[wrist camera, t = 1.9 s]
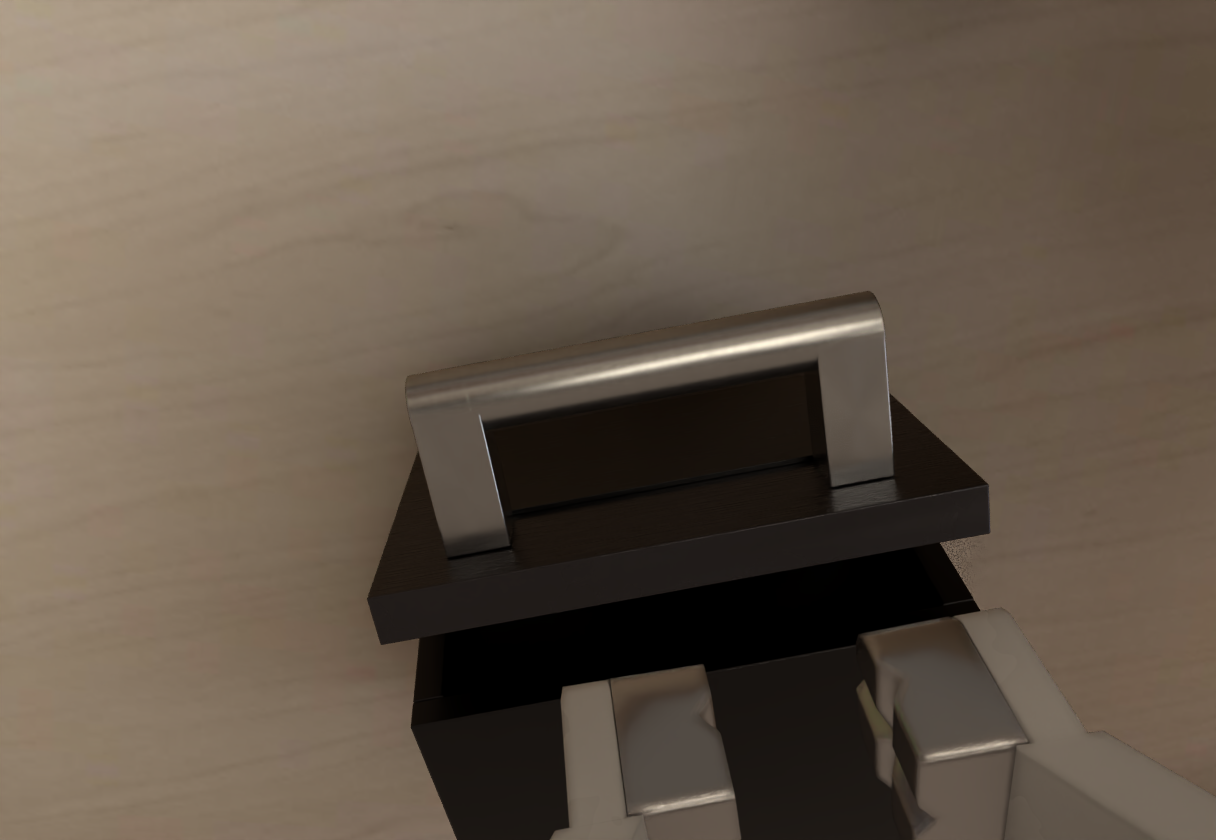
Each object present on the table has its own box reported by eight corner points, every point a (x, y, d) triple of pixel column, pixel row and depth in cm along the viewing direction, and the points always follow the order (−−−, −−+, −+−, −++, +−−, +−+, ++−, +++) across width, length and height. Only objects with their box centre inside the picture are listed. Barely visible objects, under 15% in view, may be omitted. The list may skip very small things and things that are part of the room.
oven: (435, 464, 41) (409, 727, 29) (846, 389, 41) (988, 621, 29) (504, 683, 48) (506, 962, 37) (851, 620, 48) (964, 878, 37)
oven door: (392, 303, 38) (312, 420, 25) (834, 221, 38) (983, 296, 25) (433, 464, 40) (380, 646, 27) (849, 387, 40) (991, 533, 27)
